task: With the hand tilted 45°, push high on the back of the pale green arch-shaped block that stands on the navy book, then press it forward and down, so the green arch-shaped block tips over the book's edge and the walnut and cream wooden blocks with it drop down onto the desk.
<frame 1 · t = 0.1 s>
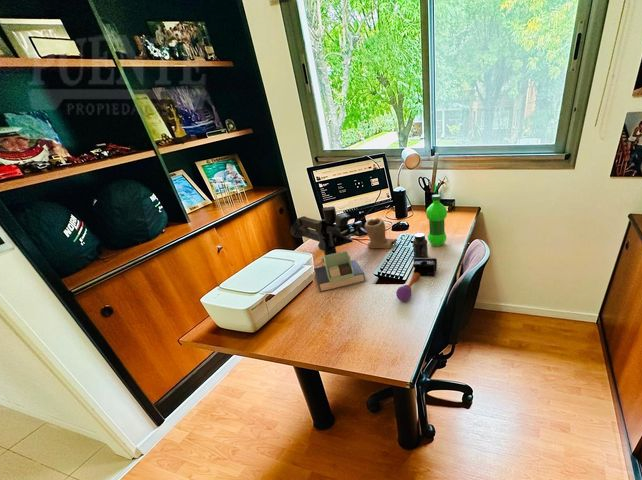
hand: (359, 237, 144), 17 cm above the table, tool horizontal, fingers open, 9 cm apart
green arch-shaped block: (340, 276, 141), point 4 cm above the table, touching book, cream block, walnut block
supplement bottle: (421, 258, 159), on the table
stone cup: (381, 247, 174), on the table
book: (340, 278, 149), on the table
cream block: (334, 272, 139), point 7 cm above the table, touching green arch-shaped block
plastic bottle: (437, 244, 172), on the table
kendama: (409, 291, 135), on the table
end cap: (425, 273, 147), on the table
walnut block: (344, 270, 140), point 7 cm above the table, touching green arch-shaped block
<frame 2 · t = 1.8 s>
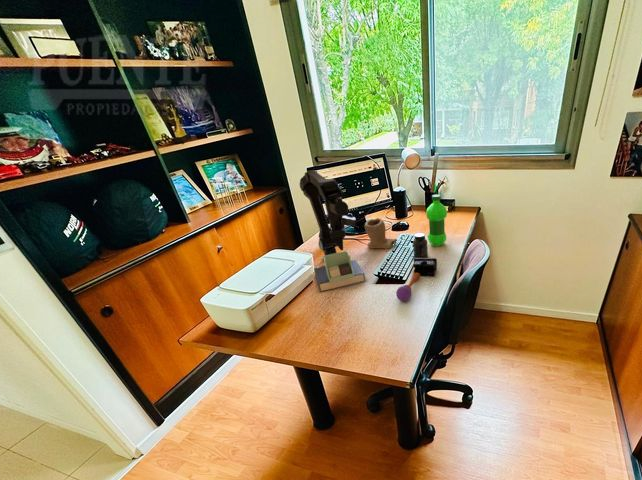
hand: (341, 246, 147), 13 cm above the table, tool pointing down, fingers open, 9 cm apart
nothing on the table moved.
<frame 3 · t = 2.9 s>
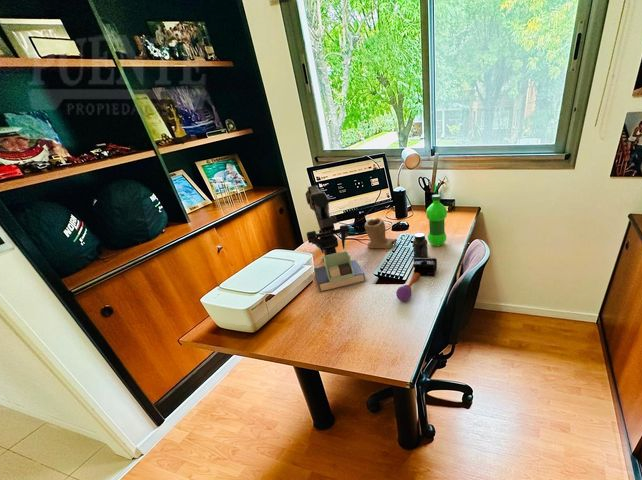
hand: (333, 251, 142), 13 cm above the table, tool tilted 45°, fingers open, 9 cm apart
nothing on the table moved.
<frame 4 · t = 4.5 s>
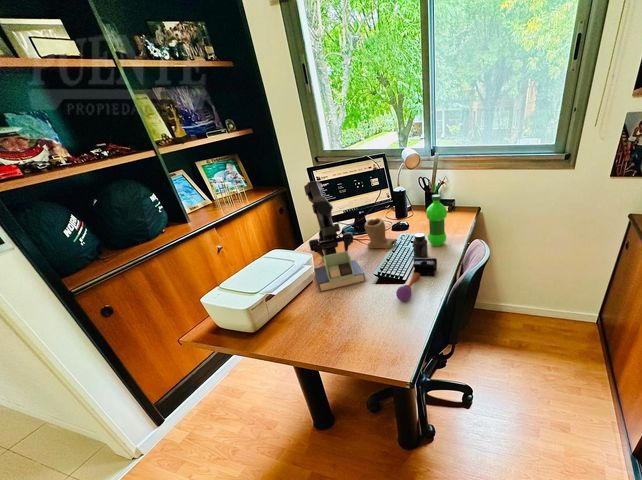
hand: (336, 259, 139), 11 cm above the table, tool tilted 45°, fingers open, 9 cm apart
green arch-shaped block: (340, 276, 141), point 4 cm above the table, tilted 7°, touching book, cream block, walnut block
cream block: (334, 272, 139), point 7 cm above the table, tilted 7°, touching green arch-shaped block
walnut block: (345, 270, 140), point 7 cm above the table, tilted 7°, touching green arch-shaped block
everything else where it was.
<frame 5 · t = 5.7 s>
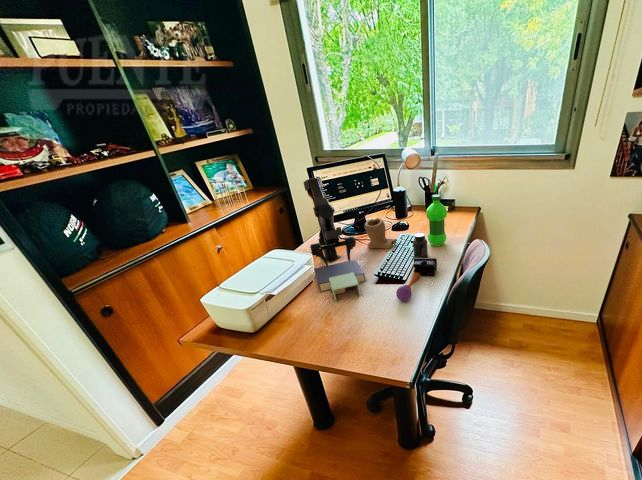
hand: (338, 264, 135), 11 cm above the table, tool tilted 45°, fingers open, 9 cm apart
green arch-shaped block: (342, 280, 140), point 3 cm above the table, tilted 93°, touching cream block, walnut block
cream block: (338, 286, 138), point 2 cm above the table, tilted 99°, touching green arch-shaped block
walnut block: (349, 284, 139), point 2 cm above the table, tilted 99°, touching green arch-shaped block
everything else where it was.
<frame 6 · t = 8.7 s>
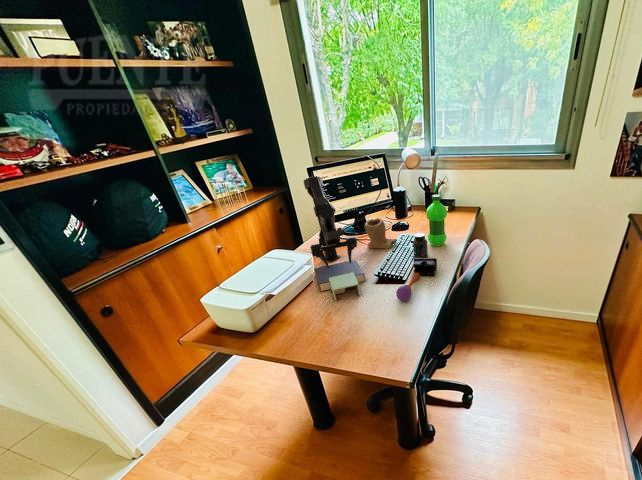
hand: (339, 265, 132), 12 cm above the table, tool tilted 45°, fingers open, 9 cm apart
nothing on the table moved.
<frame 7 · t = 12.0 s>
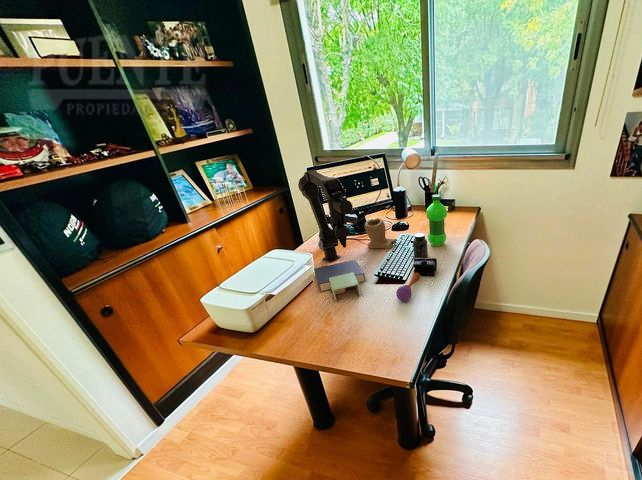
hand: (342, 243, 148), 13 cm above the table, tool pointing down, fingers open, 9 cm apart
nothing on the table moved.
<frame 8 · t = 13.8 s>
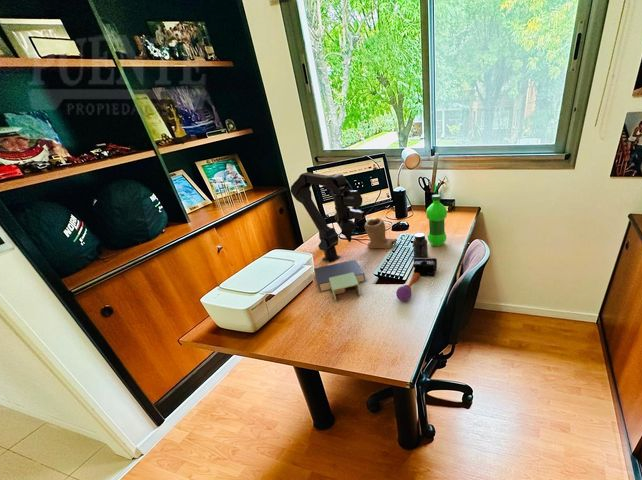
hand: (347, 238, 153), 13 cm above the table, tool pointing down, fingers open, 9 cm apart
nothing on the table moved.
at the end: green arch-shaped block tilted 93°; walnut block inside the target area (16.9 cm from its centre), point 2.4 cm above the table; cream block inside the target area (17.8 cm from its centre), point 2.4 cm above the table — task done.
